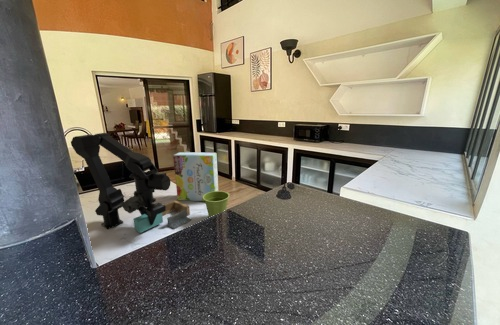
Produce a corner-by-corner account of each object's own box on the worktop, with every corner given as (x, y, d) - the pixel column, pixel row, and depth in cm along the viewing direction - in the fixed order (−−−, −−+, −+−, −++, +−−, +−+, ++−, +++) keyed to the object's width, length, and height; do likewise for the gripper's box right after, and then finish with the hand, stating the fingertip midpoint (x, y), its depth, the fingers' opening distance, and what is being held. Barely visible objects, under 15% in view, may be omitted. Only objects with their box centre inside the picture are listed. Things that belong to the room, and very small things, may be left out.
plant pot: (229, 211, 103) (228, 189, 100) (230, 224, 92) (230, 200, 89) (204, 213, 101) (203, 191, 98) (203, 226, 90) (201, 202, 87)
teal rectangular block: (134, 229, 86) (133, 218, 84) (157, 219, 93) (156, 209, 92) (139, 233, 83) (138, 221, 82) (162, 222, 91) (161, 211, 90)
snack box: (219, 195, 121) (217, 152, 114) (215, 202, 113) (213, 155, 106) (183, 194, 123) (179, 151, 116) (176, 200, 115) (172, 154, 108)
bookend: (168, 226, 90) (167, 217, 89) (185, 217, 97) (184, 209, 96) (174, 229, 88) (173, 220, 87) (191, 220, 95) (190, 212, 94)
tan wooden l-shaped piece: (144, 222, 93) (143, 212, 92) (175, 208, 106) (174, 200, 105) (158, 230, 87) (157, 220, 86) (189, 214, 100) (189, 205, 99)
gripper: (111, 189, 83) (118, 224, 87) (135, 201, 72) (141, 240, 76) (139, 181, 92) (144, 213, 96) (164, 191, 81) (168, 227, 85)
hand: (148, 223), depth 88 cm, fingers closed on teal rectangular block, 4 cm apart
